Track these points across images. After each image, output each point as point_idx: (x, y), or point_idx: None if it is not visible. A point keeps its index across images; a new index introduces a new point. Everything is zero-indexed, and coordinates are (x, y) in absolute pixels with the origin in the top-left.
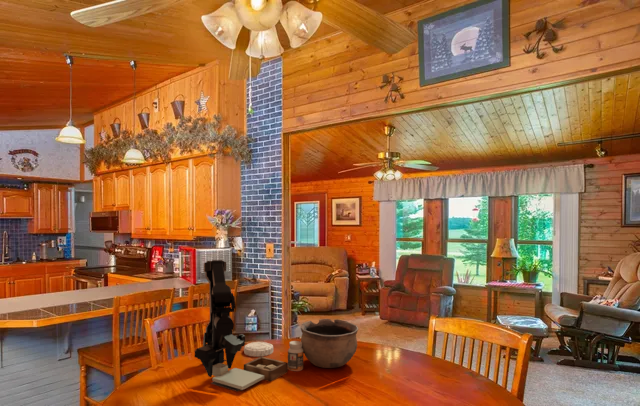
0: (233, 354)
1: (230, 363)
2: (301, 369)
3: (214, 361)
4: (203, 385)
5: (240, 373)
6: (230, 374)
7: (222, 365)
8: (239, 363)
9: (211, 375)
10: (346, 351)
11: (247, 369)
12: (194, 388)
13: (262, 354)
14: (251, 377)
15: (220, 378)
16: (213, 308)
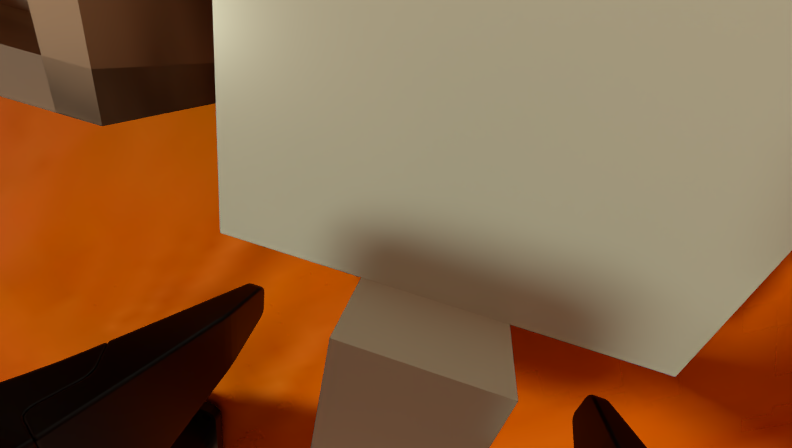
0: (28, 434)
1: (219, 328)
2: None
3: (181, 438)
4: (605, 376)
5: (371, 33)
6: (473, 190)
7: (376, 405)
8: (56, 271)
9: (608, 410)
10: None
11: (151, 20)
12: (695, 421)
13: None
14: None
15: (695, 271)
16: None
